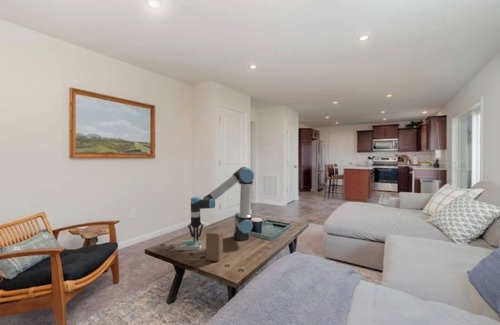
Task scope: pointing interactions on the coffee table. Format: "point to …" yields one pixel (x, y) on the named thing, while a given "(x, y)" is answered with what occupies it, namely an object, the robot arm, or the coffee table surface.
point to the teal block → (190, 242)
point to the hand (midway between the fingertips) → (196, 245)
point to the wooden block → (214, 244)
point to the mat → (169, 247)
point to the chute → (184, 247)
